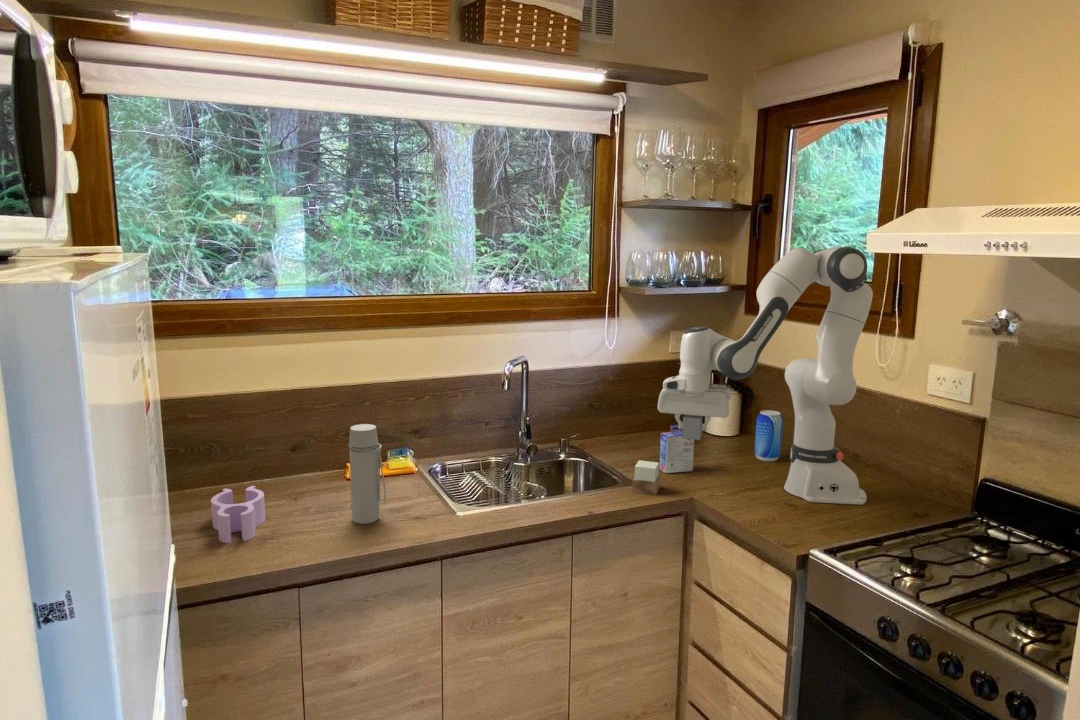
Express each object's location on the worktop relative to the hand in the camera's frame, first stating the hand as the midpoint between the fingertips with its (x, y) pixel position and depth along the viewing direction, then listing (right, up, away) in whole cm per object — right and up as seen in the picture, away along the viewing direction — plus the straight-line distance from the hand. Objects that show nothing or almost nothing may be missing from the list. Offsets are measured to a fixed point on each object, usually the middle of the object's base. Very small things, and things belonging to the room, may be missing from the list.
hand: (692, 429), depth 204 cm
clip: (-121, -22, -25) cm, 126 cm away
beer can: (+33, -13, +35) cm, 50 cm away
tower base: (-13, -18, +4) cm, 23 cm away
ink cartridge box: (0, -15, +22) cm, 27 cm away
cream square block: (-13, -15, +3) cm, 20 cm away
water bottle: (-89, -22, -21) cm, 94 cm away
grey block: (0, -2, 0) cm, 2 cm away
